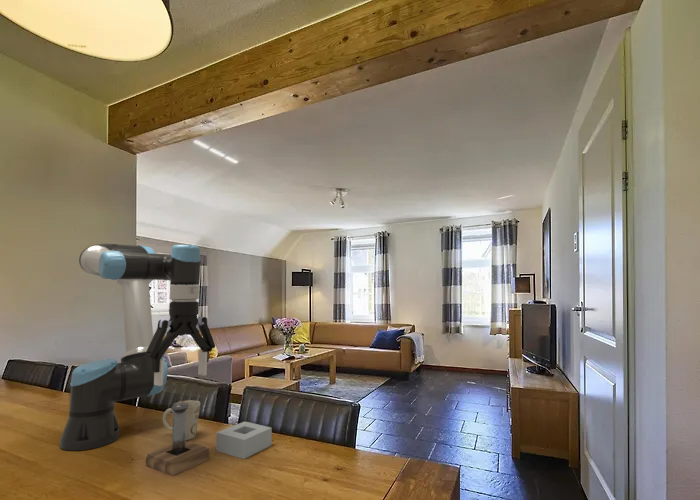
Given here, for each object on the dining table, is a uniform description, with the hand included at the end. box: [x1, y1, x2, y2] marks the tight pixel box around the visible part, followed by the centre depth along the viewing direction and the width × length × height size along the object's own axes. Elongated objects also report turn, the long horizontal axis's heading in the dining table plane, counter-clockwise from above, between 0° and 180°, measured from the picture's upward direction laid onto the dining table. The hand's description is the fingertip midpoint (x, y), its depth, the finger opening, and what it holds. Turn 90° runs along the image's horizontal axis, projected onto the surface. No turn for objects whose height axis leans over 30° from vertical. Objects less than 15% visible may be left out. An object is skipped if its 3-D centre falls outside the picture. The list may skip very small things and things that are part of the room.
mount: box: [145, 440, 210, 477], centre depth 106 cm, size 11×11×3 cm
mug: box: [162, 399, 201, 441], centre depth 125 cm, size 8×13×10 cm, turn 78°
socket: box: [215, 421, 273, 460], centre depth 116 cm, size 11×11×5 cm
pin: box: [171, 401, 189, 456], centre depth 106 cm, size 4×4×15 cm
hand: (181, 379), depth 108 cm, fingers open, 13 cm apart
